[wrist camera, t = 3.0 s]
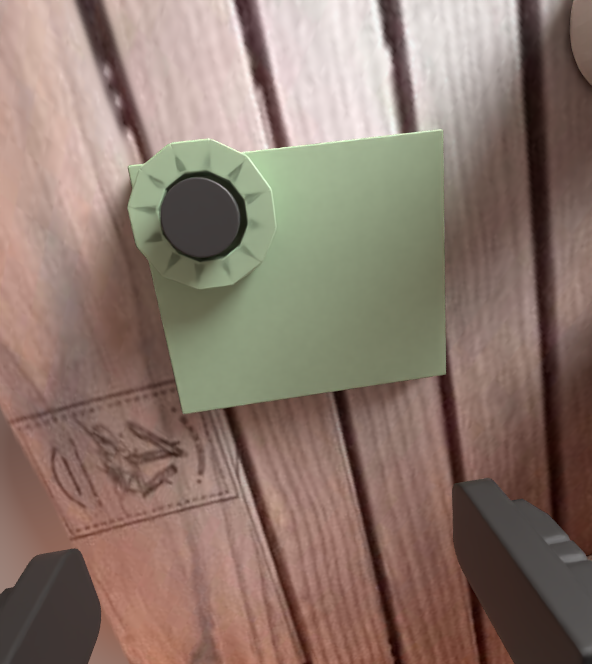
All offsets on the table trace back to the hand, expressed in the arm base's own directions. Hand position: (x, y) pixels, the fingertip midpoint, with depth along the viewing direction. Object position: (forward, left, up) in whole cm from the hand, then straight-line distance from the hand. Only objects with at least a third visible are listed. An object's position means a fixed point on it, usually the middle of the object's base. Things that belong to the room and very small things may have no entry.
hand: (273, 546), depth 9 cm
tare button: (-2, +7, -11) cm, 13 cm away
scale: (+2, +3, -14) cm, 14 cm away
